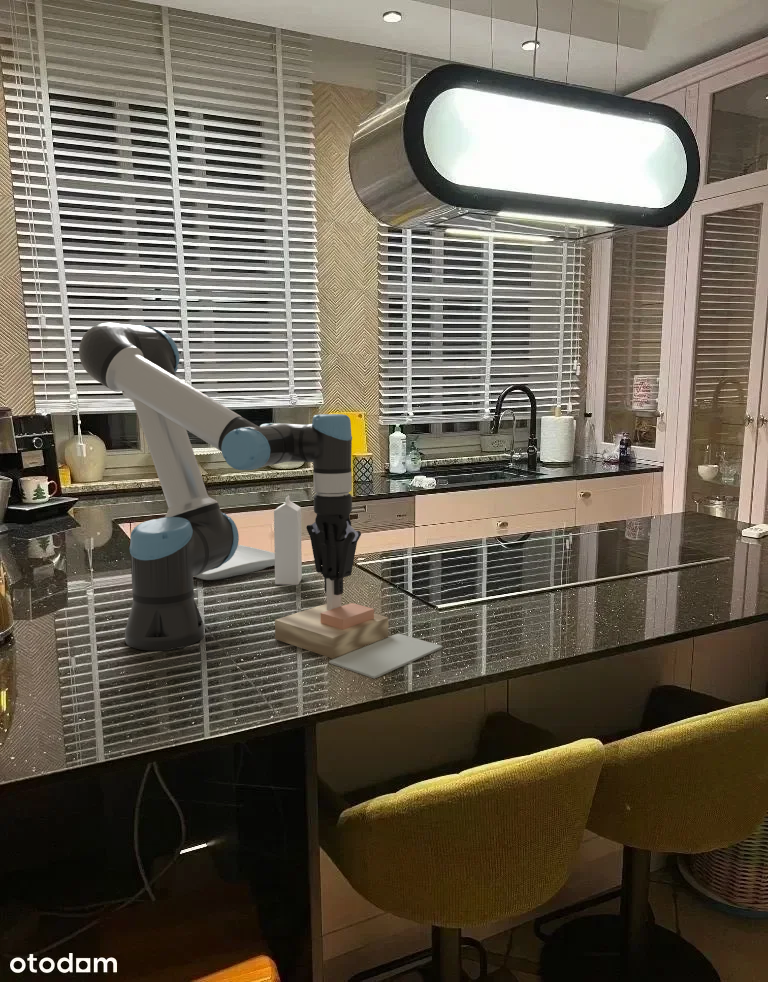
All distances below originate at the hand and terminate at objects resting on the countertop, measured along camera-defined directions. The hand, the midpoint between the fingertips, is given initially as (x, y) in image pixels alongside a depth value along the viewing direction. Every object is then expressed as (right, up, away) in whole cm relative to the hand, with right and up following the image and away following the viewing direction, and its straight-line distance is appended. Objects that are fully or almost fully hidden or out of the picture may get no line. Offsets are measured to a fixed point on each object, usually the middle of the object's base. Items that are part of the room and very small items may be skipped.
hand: (333, 609), depth 151 cm
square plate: (-35, +2, +55) cm, 66 cm away
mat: (+11, -7, -10) cm, 16 cm away
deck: (0, -6, 0) cm, 6 cm away
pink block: (+3, -2, -2) cm, 4 cm away
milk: (-14, 0, +41) cm, 44 cm away
